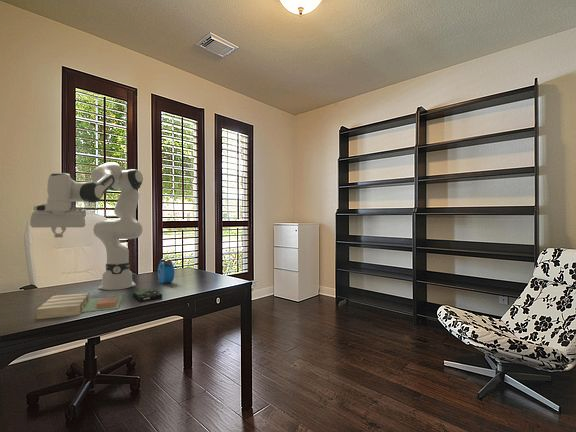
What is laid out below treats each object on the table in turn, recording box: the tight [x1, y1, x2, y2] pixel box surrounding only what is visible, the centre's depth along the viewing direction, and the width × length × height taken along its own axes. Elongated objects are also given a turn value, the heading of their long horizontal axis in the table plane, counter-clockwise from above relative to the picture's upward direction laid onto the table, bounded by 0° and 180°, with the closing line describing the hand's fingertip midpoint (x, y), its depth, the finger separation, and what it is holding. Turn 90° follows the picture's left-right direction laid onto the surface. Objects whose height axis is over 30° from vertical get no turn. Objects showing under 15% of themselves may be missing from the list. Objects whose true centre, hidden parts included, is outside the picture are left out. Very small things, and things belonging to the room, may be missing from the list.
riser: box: [36, 292, 90, 320], centre depth 130 cm, size 22×14×4 cm, turn 25°
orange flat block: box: [97, 296, 117, 308], centre depth 137 cm, size 10×7×2 cm
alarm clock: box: [157, 257, 175, 284], centre depth 185 cm, size 13×6×15 cm, turn 41°
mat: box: [80, 295, 123, 314], centre depth 139 cm, size 22×14×1 cm, turn 25°
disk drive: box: [132, 288, 163, 303], centre depth 152 cm, size 10×3×15 cm
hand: (58, 237), depth 137 cm, fingers closed
